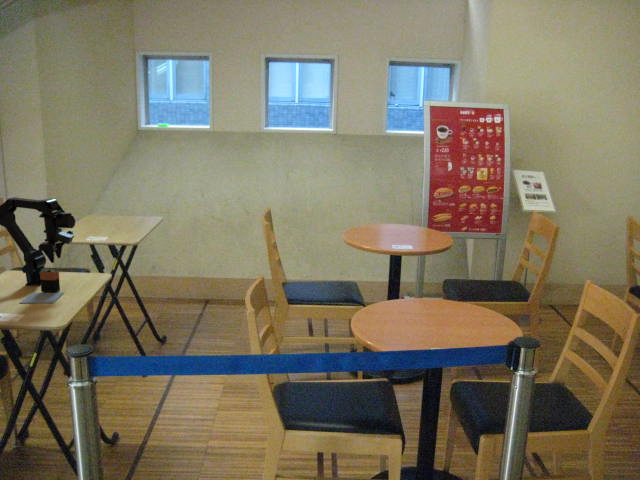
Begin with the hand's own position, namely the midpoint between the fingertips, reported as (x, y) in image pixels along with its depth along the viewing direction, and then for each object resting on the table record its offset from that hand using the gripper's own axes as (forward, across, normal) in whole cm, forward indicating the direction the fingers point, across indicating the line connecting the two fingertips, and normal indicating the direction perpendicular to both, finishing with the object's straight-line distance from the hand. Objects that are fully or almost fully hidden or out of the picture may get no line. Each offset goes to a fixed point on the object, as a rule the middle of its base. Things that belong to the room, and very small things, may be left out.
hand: (56, 260), depth 264 cm
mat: (+12, -18, 0) cm, 21 cm away
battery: (+12, -9, 0) cm, 15 cm away
